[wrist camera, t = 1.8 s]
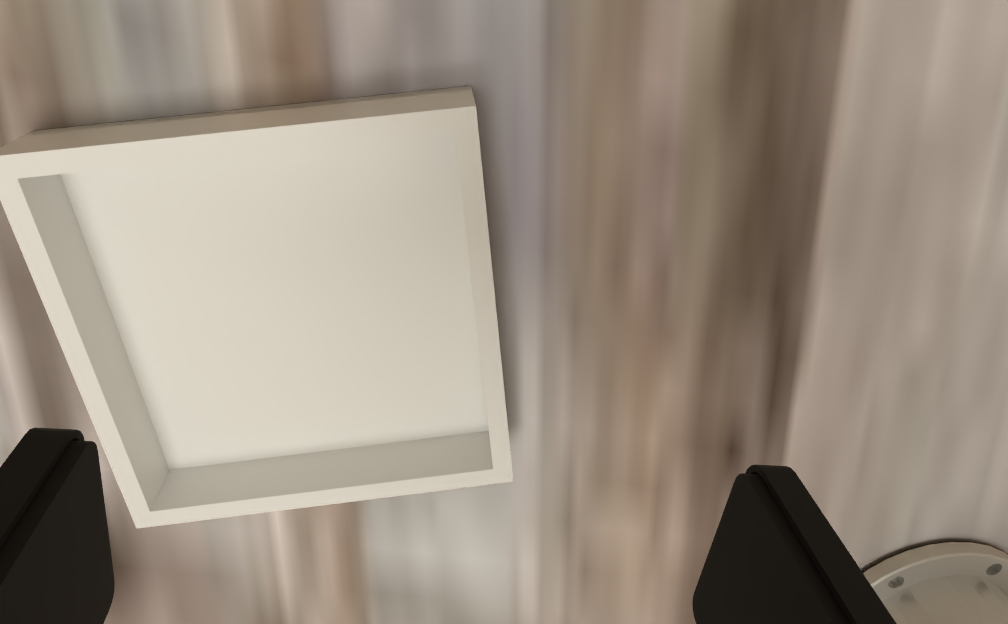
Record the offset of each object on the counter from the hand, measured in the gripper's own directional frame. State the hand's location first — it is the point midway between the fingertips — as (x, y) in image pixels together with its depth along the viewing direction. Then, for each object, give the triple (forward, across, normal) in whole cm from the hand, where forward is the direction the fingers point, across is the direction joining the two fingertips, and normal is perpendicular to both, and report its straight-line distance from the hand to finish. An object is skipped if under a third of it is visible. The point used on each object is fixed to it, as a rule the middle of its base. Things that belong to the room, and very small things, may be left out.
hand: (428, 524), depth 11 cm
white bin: (+20, +4, +7) cm, 22 cm away
